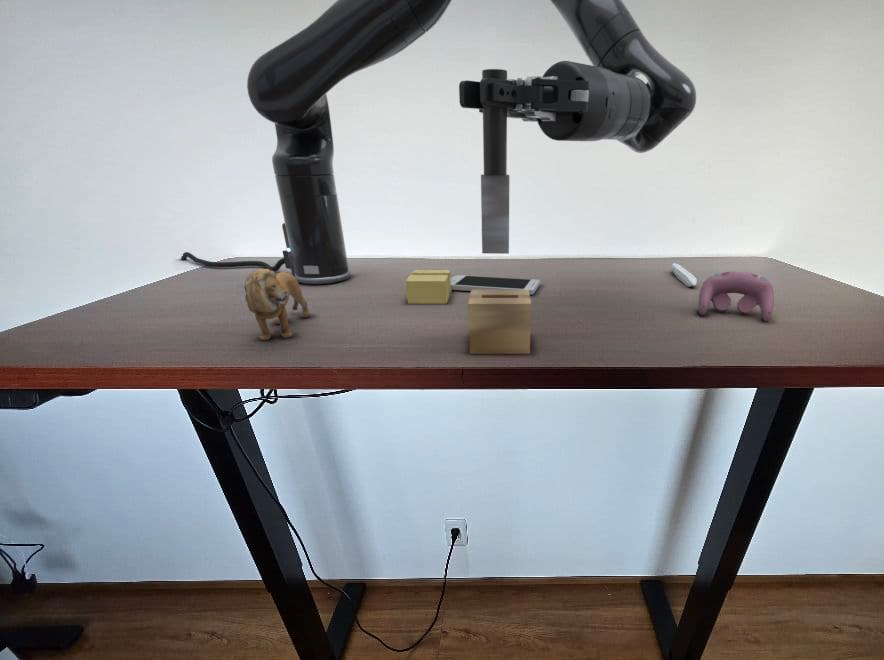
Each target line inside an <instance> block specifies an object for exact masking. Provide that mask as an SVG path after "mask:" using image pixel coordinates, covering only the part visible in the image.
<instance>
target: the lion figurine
mask: <svg viewBox="0 0 884 660" xmlns="http://www.w3.org/2000/svg"><path fill="white" fill-rule="evenodd" d="M245 280H246V281H245V283H244V286H243V288H244V291H245V297H244V298H245V303H246V305H247V308H248V310H249V311H250V312H251V313H253V314H254V316H255V320H256V322H257V324H258V328H259V329H260V331H261V334H260V335H259V336H258V337H259V339H260V340H261V341H267V340H270V338H271V332H270V329H269V327H268V324H267V320H272V319H274V320H273V323H274V324H276V325H279V329H280V333H281V336H282V337H283V338H284V339H287V338H292V337H293V336H294V334H293V332H292V331H291V328H290V326H289V321H288V320H289V318H288V317H289V316H288V312H287V308H286V306H287V304H288V302H289V298H290V296H291V297H292V298H293V301H294V302H293V305H292V306H291V307H292V311H298V306H299V305H300V306H301V309H302V311H301V313H300V314H301V315H300V316H301V317H302V318H310V316H311V313H310V310H309V308H308V302H307V301H306V299H305V298H304V296H303V293H302V289H301V285H300V284H299V282H298V281H297V279H296V278H295V277H294V276H293V275H292V273H288V272H284V271H281V272H278V273H277V272H276V271H275V272H274V271H270V270H269V269H266V268H264V267H263V268H258V269H256V270H253V271H252V272H250V273H249V274H248V275H247V277H246V279H245Z"/></svg>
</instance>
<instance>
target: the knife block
mask: <svg viewBox="0 0 884 660" xmlns="http://www.w3.org/2000/svg"><path fill="white" fill-rule="evenodd" d="M467 304H468V305H467V308H468V309H467V310H468V311H467V312H468V332H469V334H468V335H469V336H468V338H469V354H471V355H478V354H479V355H481V354H482V355H497V354H498V355H503V354H504V355H509V354H510V355H528V354H529V355H530V354H531V324H532V301H531V295H530V294H529V290H471V291H470V295H469V299H468V303H467Z"/></svg>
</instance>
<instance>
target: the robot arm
mask: <svg viewBox="0 0 884 660" xmlns="http://www.w3.org/2000/svg"><path fill="white" fill-rule="evenodd" d="M452 1H453V0H335V2H334V3H332V4H331V5H330V6H329V7H328V8H327V9H326V10H325V11H323V13H322V14H321V15H320V16H318V18H316V19H315V20H314V21H313V22H311V23H310V24H309V25H308V26H306V27H304V28H303V29H302V30H301V31H298V32H297V33H295V34H293V36H291V37H289V38H288V39H286V40H285V41H282V42H281V43H279V44H278V45H276V46H274V47H273V48H271V49H270V50H267V51H266V52H265V53H262V55H260V56H259V57H258V58H257V59H256V60H255V61H254V62H253V64H252V65H251V67H250V69H249V71H248V75H247V80H246V83H247V84H246V89H247V95H248V98H249V100H250V101H249V102H250V103H251V105H252V107H253V108H254V109H255V111H256V112H257V113H258V114H259V115H260V116H261V117H262V118H264V119H265V120H267V121H269V122H271V123H273V124H274V128H275V134H276V148H275V151H274V153H273V154H272V157H271V162H272V168H273V174H274V178H275V183H276V188H277V193H278V196H279V203H280V206H281V211H282V217H283V221H284V222H283V223H282V224H281V228H282V232H283V238H284V242H285V246H286V247H285V248H286V249H285V250H282V258H280V259H279V260H277V262H276V263H275V264H274V265H273V266H272V265H270V264H269V263H268V262H265V261H262V260H261V261H259V260H242V261H241V260H240V261H211V260H210V261H209V260H205V259H203V258H198V257H196V256H195V255H194V254H192V253H191V252H188V251H186V252H183V253H182V255H183V256H182V255H181V257H180V261H187V258H188V259H190V260H191V261H192V262H194V263H197V264H200V265H203V266H206V267H212V268H238V267H239V268H240V267H263V269H269V270H270V271H274V272H275V273H276V272H278V271H279V270H280V268H281V267H282V266H283V265H284V266H285V269H289V270H291V275H293V276H294V277H295V278H296V279H297V281H298V284H299V283H300V284H305V285H324V284H325V285H327V284H333V283H334V284H335V283H338V282H339V283H340V282H343V281H346V280H348V279H349V278H350V277H351V273H350V269H349V265H348V264H349V263H348V257H347V249H346V245H345V244H346V243H345V238H344V237H345V236H344V230H343V225H342V219H341V218H342V217H341V211H340V205H339V199H338V192H337V187H336V180H335V179H336V178H335V172H334V164H333V163H334V155H335V146H334V138H333V129H332V120H331V113H330V106H329V100H328V95H327V93H329V92H330V91H331V90H332V89H333V88H334V87H335V86H337V85H338V84H339V83H340V82H342V81H343V80H345V79H346V78H348V77H350V76H352V75H353V74H355V73H357V72H359V71H362V70H365V69H367V68H371V67H372V66H374V65H377V64H379V63H382V62H384V61H386V60H388V59H390V58H392V57H394V56H396V55H398V54H400V53H402V51H405V50H406V49H408V48H409V47H410V46H411V45H413V44H414V43H415V42H417V41H418V40H419V39H420V38H422V37H423V36H424V35H426V33H429V31H431V30H432V29H433V28H434V27H435V26H436V25H437V24H438V23H439V21H440V20H441V19H442V17H443V16H444V15H445V13H446V11H447V10H448V8H449V6H450V5H451V3H452ZM549 1H550V3H551V4H552V5H553V6H554V7H555V9H556V10H557V12H558V13H559V14H560V16H561V17H562V19H563V21H564V22H565V23H566V26H568V28H569V30H570V31H571V33H572V35H573V37H574V38H575V39H576V41H577V42H578V44H579V46H580V47H581V49H582V51H583V52H584V55H585V56H586V57H587V59H588V60H589V62H590V64H591V65H590V64H586V63H580V62H575V61H570V60H561V61H558V62H556V63H555V62H554V64H553V65H550V67H549V68H548V69H547V70H545V72H544V73H543V75H542V76H539V75H536V76H527V77H526V78H525V79H523V78H522V77H517V78H507V80H501V79H494V78H483V79H482V78H481V79H480V81H475V80H460V81H459V84H458V94H459V95H458V96H459V97H458V98H459V105H460V107H461V108H463V109H473V110H478V112H479V113H480V114H482V115H483V106H484V107H496V108H507V119H515V120H516V119H518V120H519V119H520V120H522V121H523V122H526V123H537V124H538V127H539V128H540V130H541V131H542V133H543V134H544V135H545V136H546V137H547V138H549V139H551V140H552V141H558V142H564V141H565V142H597V141H602V140H611V141H613V140H614V141H618V142H619V143H620V144H623V145H624V146H626V147H628V148H629V149H630V150H632V151H633V152H635V153H638V154H643V153H647V152H649V151H652V150H654V149H655V148H656V147H657V146H659V145H660V144H661V143H662V142H663V141H664V140H665V139H666V138H667V137H668V136H669V135H670V134H671V133H673V132H674V131H675V130H676V129H677V128H678V127H679V126H680V125H681V124H682V123H683V122H685V120H686V119H688V118H689V117H690V116H691V115H692V113H693V112H694V111H695V108H696V105H697V90H696V87H695V85H694V82H693V81H692V80H691V78H690V77H689V76H688V75H687V74H686V73H685V72H684V71H682V70H681V69H680V68H678V67H677V66H676V65H674V64H673V63H672V62H670V61H669V60H668V59H667V58H666V57H665V56H663V54H661V53H660V52H659V51H658V50H657V49H656V48H655V47H654V46H653V45H652V44H651V43H650V41H649V40H648V39H647V37H646V36H645V35H644V33H643V31H642V29H641V28H640V27H639V25H638V23H637V22H636V20H635V18H634V17H633V15H632V13H631V12H630V11H629V9H628V7H627V6H626V4H625V3H624V2H623V0H549ZM640 75H643V76H644V77H645V78H646V80H647V82H644V80H642V79H641V78H639V77H638V76H640Z"/></svg>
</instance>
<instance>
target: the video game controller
mask: <svg viewBox="0 0 884 660" xmlns="http://www.w3.org/2000/svg"><path fill="white" fill-rule="evenodd" d="M729 294H739V295H743V296H742V297H741V298H739V300H738V302H737V305H736V309H737V311H738V313H740V314H742V315H747V314H748V315H749V314H750V313H751V312H752V311H753V310H754V309H755V308H756V306H759V308H760V314H761V318H762V320H763V321H764V322H768V321H770V320H771V318H772V316H773V313H774V306H775V291H774V286H773V284H772V283H771V282H770V281H769V279H768V278H767V277H766V276H763V275H757V274H754V273H751V272H747V271H735V270H734V271H733V270H730V271H725V272H716V273H714V274H713V275H710V276H709V277H707V278H706V279H705V280H704V281H703V283H702V284H701V287H700V290H699V295H698V313H699V315H700V316H705V315H706V314H707V313H708V310H709V307H710V305H711V302H712V305H713V308H714V309H715V311H717V312H721V313H722V312H726V311H727V310H729V308H730V307H731V305H732V299H731V297H730V295H729Z"/></svg>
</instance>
